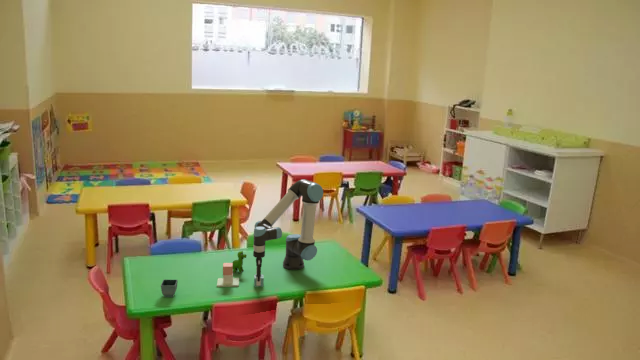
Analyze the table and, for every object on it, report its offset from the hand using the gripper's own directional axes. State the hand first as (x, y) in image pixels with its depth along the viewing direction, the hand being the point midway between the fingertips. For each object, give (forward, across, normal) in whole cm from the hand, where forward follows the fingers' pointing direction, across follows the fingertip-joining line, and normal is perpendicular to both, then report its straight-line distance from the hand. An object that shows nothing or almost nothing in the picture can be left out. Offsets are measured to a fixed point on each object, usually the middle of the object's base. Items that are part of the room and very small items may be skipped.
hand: (258, 280), depth 351 cm
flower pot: (+4, +14, -55) cm, 56 cm away
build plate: (+3, -3, -20) cm, 20 cm away
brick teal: (+3, 0, 0) cm, 3 cm away
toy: (+3, -22, -15) cm, 27 cm away
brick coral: (-4, -3, -20) cm, 21 cm away
